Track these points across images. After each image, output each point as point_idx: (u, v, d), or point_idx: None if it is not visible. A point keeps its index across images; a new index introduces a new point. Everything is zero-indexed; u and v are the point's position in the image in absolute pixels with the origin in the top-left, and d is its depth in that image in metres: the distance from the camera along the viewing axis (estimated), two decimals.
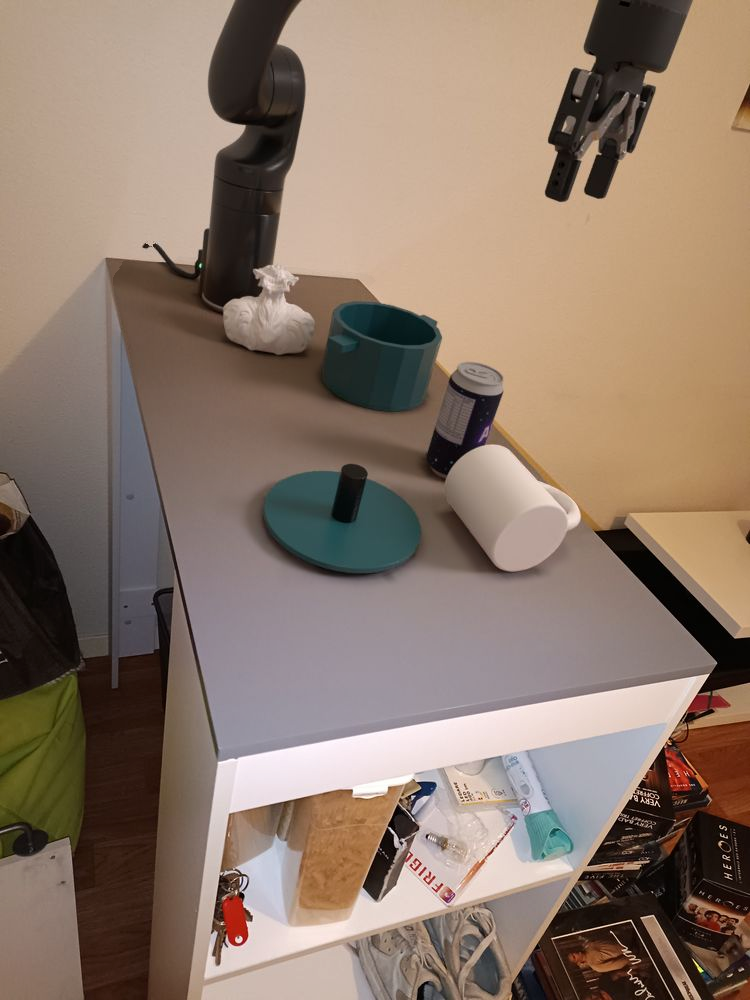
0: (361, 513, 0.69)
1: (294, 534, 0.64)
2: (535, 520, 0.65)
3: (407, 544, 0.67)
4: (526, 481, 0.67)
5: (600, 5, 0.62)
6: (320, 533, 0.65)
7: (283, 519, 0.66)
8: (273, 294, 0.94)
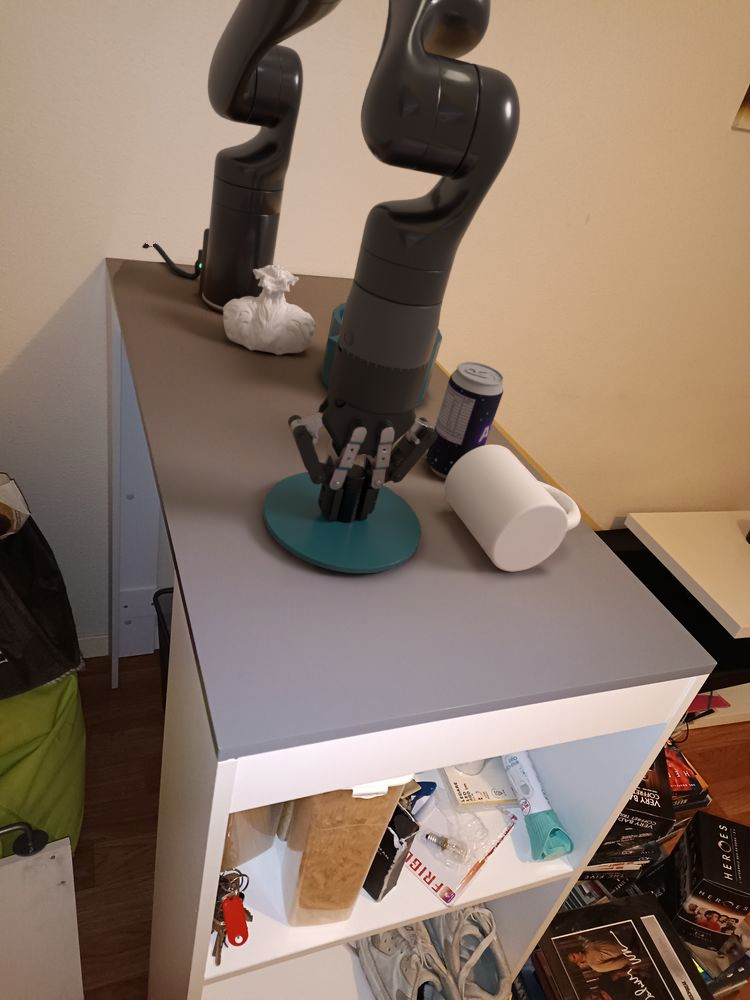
0: None
1: (294, 534, 0.64)
2: (535, 520, 0.65)
3: (407, 544, 0.67)
4: (526, 481, 0.67)
5: None
6: (320, 533, 0.65)
7: (283, 519, 0.66)
8: (273, 294, 0.94)
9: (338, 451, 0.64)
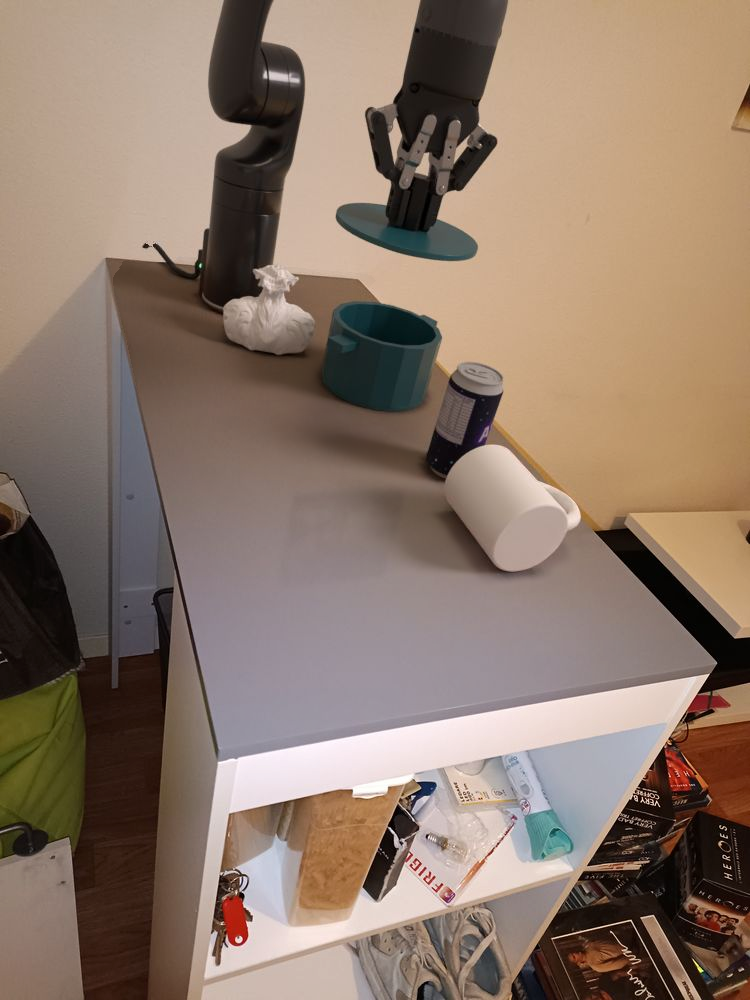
0: None
1: (366, 228, 0.71)
2: (535, 520, 0.65)
3: (467, 249, 0.73)
4: (526, 481, 0.67)
5: None
6: (388, 231, 0.72)
7: (355, 220, 0.72)
8: (273, 294, 0.94)
9: (407, 151, 0.70)
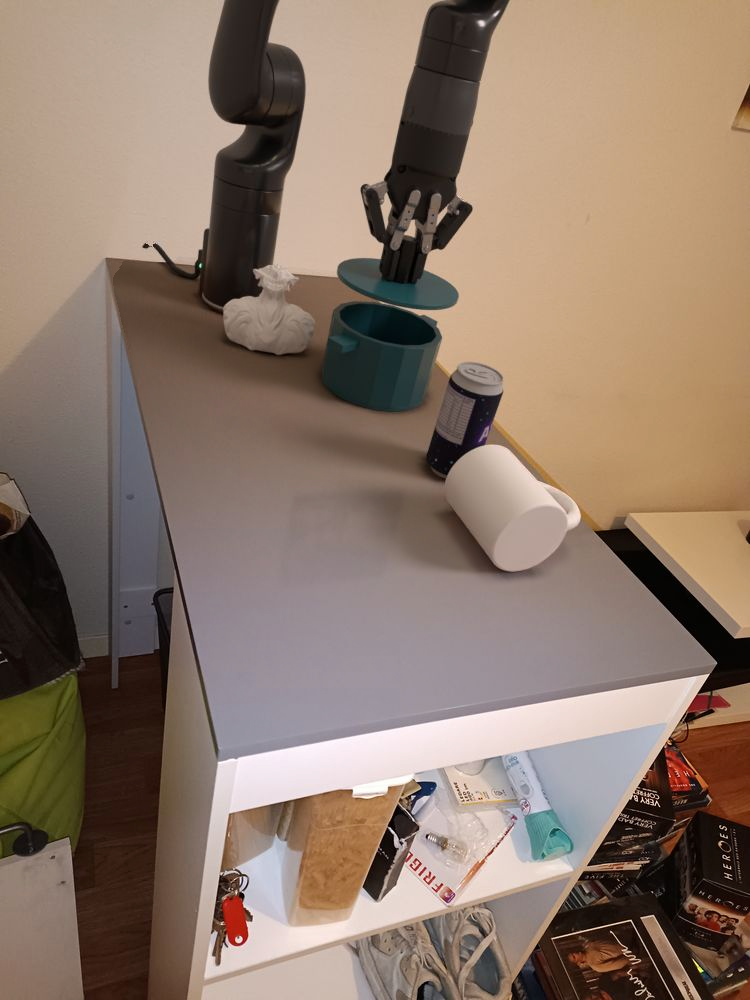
0: None
1: (363, 284, 0.84)
2: (535, 520, 0.65)
3: (449, 298, 0.86)
4: (526, 481, 0.67)
5: None
6: (382, 285, 0.85)
7: (353, 276, 0.85)
8: (273, 294, 0.94)
9: (397, 218, 0.83)
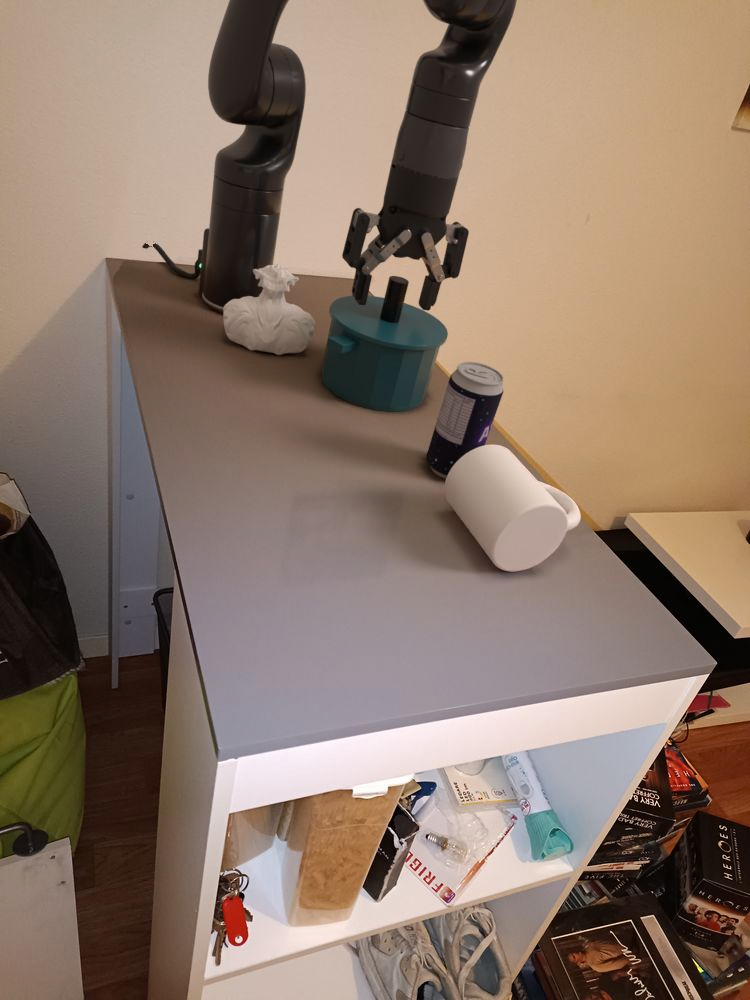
0: (402, 319, 0.91)
1: (354, 324, 0.86)
2: (535, 520, 0.65)
3: (438, 337, 0.89)
4: (526, 481, 0.67)
5: None
6: (373, 325, 0.87)
7: (345, 316, 0.88)
8: (273, 294, 0.94)
9: None
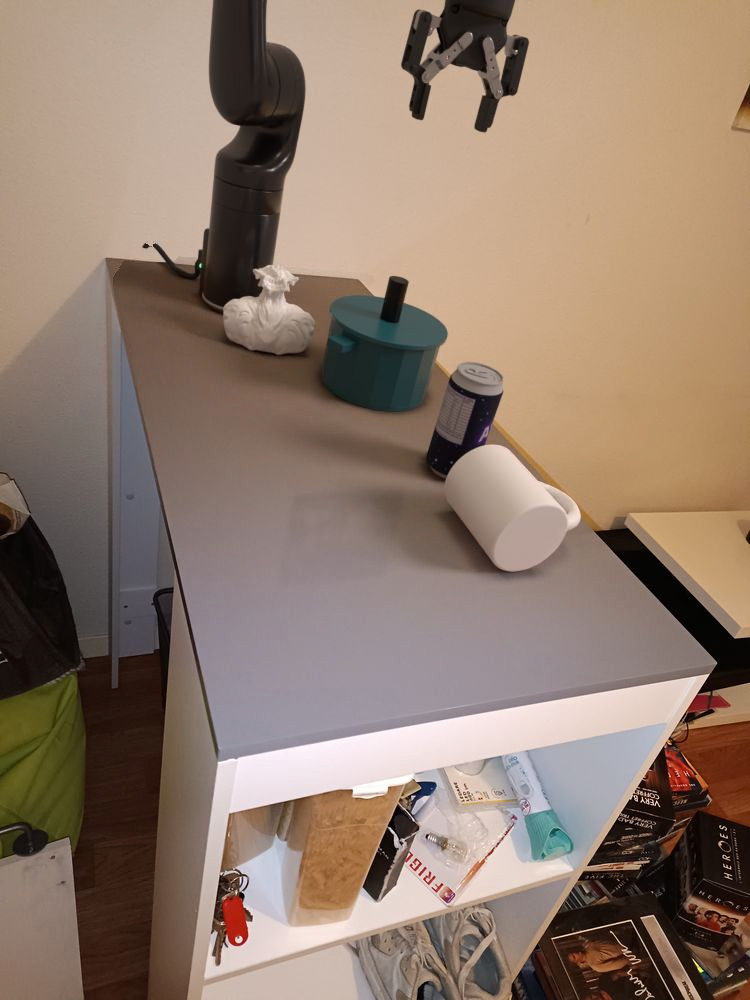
0: (402, 319, 0.91)
1: (354, 324, 0.86)
2: (535, 520, 0.65)
3: (438, 337, 0.89)
4: (526, 481, 0.67)
5: None
6: (373, 325, 0.87)
7: (345, 316, 0.88)
8: (273, 294, 0.94)
9: None
